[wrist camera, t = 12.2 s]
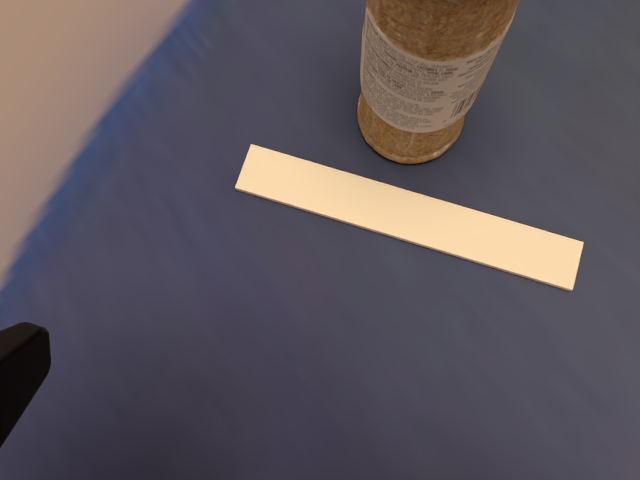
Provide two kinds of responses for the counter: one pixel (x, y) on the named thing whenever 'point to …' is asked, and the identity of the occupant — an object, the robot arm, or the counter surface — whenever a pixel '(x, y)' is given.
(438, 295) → the counter surface
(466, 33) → the sprinkles bottle
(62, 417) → the counter surface
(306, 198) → the thin cream strip
